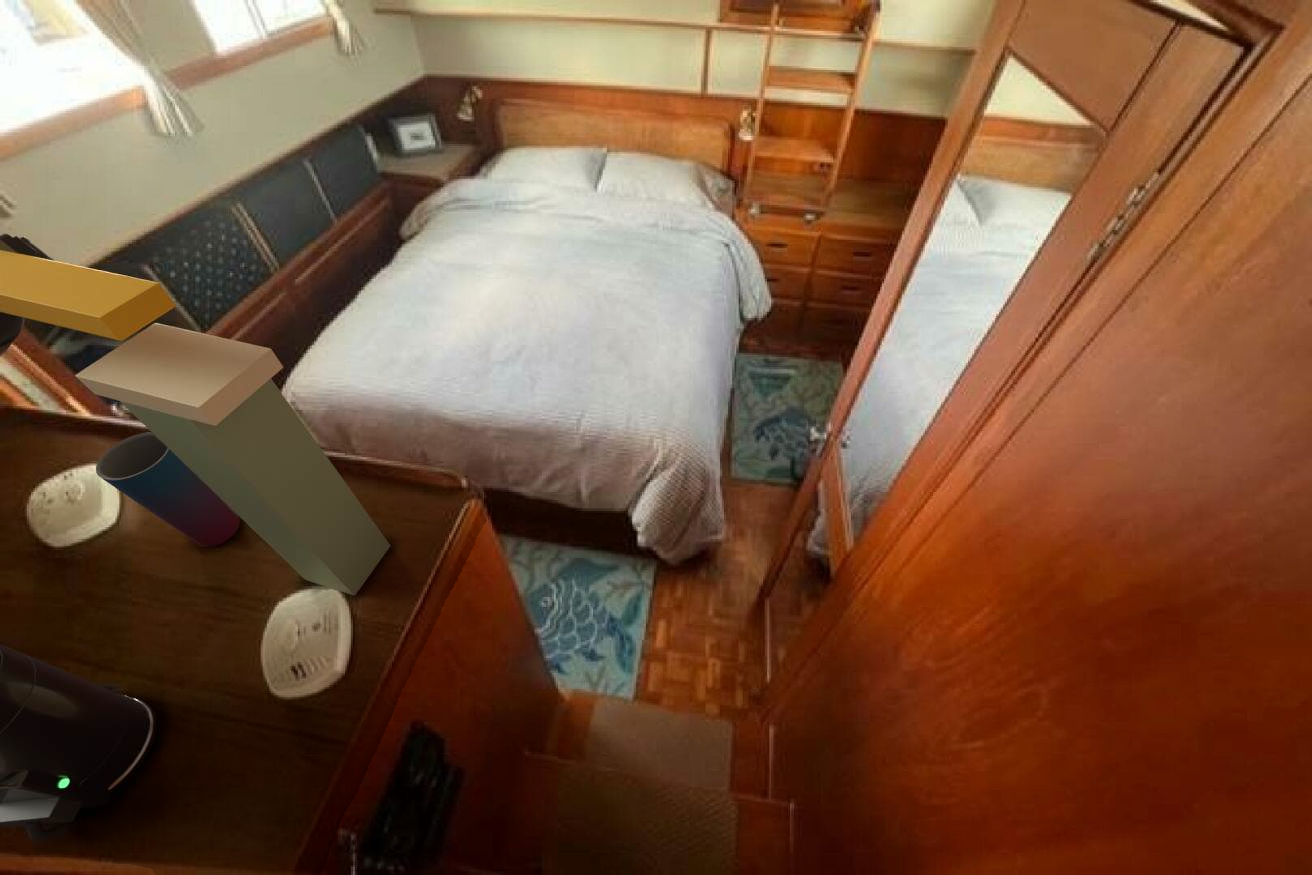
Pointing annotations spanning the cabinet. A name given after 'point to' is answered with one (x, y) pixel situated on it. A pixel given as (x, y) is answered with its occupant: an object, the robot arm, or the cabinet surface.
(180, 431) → the stand
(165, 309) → the yellow bar
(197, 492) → the cup
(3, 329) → the robot arm
